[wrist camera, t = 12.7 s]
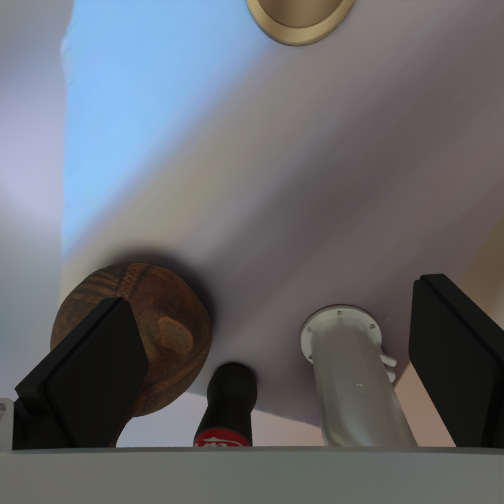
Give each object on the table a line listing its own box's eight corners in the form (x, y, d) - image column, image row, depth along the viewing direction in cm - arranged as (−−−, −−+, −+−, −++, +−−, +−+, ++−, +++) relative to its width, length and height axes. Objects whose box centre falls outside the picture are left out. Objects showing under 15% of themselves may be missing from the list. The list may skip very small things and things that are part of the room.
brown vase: (210, 372, 56) (142, 620, 28) (92, 345, 55) (-93, 568, 28) (232, 265, 47) (164, 473, 19) (92, 233, 47) (-177, 396, 19)
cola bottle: (231, 351, 53) (177, 599, 26) (268, 378, 55) (255, 638, 27) (202, 378, 56) (126, 626, 29) (238, 402, 58) (199, 659, 30)
